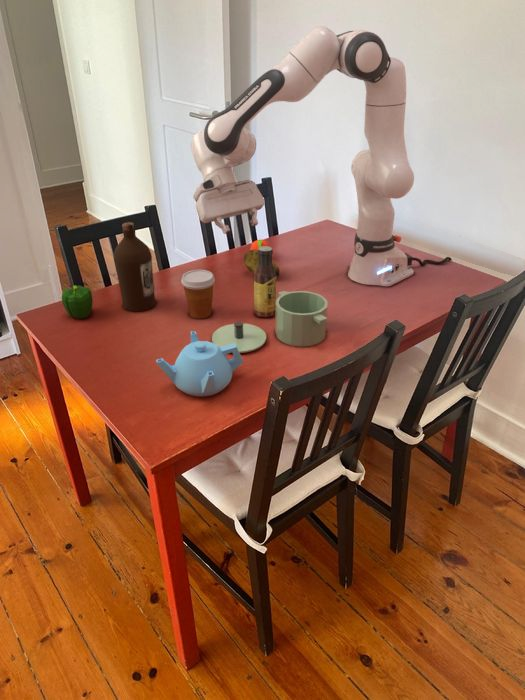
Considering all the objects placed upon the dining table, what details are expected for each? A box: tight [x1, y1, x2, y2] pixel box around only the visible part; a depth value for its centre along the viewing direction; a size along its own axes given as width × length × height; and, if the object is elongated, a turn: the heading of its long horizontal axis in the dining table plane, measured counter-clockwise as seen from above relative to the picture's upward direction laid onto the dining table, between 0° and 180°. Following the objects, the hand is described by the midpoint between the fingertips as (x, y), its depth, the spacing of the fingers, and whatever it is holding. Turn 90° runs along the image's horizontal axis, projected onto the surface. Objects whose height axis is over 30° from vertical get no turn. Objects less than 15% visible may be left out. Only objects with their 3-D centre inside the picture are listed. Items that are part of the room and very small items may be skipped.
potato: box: [243, 249, 281, 278], centre depth 175 cm, size 8×13×8 cm, turn 34°
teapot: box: [155, 330, 244, 398], centre depth 123 cm, size 15×15×11 cm
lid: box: [211, 321, 267, 354], centre depth 141 cm, size 15×15×5 cm
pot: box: [274, 290, 329, 347], centre depth 142 cm, size 14×19×10 cm
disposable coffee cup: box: [180, 269, 216, 319], centre depth 152 cm, size 10×10×12 cm
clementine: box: [249, 239, 270, 251], centre depth 187 cm, size 8×7×7 cm
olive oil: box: [113, 221, 156, 312], centre depth 153 cm, size 11×11×25 cm
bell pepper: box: [61, 285, 93, 320], centre depth 152 cm, size 8×8×10 cm
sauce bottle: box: [253, 245, 277, 318], centre depth 149 cm, size 6×6×20 cm
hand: (241, 228), depth 151 cm, fingers open, 8 cm apart
